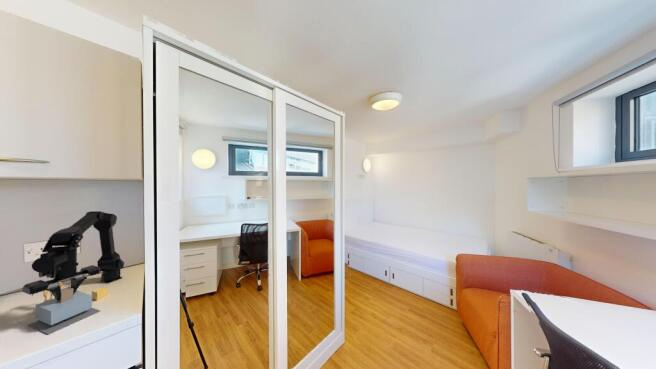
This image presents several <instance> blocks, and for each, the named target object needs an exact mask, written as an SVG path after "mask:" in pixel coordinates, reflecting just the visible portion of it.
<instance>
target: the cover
mask: <svg viewBox="0 0 656 369" xmlns="http://www.w3.org/2000/svg"><path fill="white" fill-rule="evenodd" d="M47 300H48V301H45V302H44V301H43V302H40V303H38V304H35V308H34V309H35V312H34V315H35V316H34V319H36V321H38V320H40V321H42V322H44V323H47V324H49V325H53V324H55V323H58V322H60V321H62V320H65V319H67V318H69V317H72V316H74V315H76V314H79V313H81V312H83V311H86V310H88V309H90V308H93V299H92V294H89V293H85V292H82V291H79V290H76V292H75V293H74V295H73V288H71V287H70V286H68V287H67V286H66V287H64V288H61V298H60V301H57V300H56V299H55V297H54V298H52V299H51V300H49V299H47Z"/></svg>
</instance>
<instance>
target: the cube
mask: <svg viewBox="0 0 656 369" xmlns="http://www.w3.org/2000/svg"><path fill="white" fill-rule="evenodd" d="M91 295H92V301H96V302H98V301H100V300H103V299H105V298H107V297H109V288H108V287H107V286H106V287H105V286H102V287H99V288H97V289H93V290H92V291H91Z"/></svg>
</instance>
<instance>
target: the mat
mask: <svg viewBox="0 0 656 369" xmlns="http://www.w3.org/2000/svg"><path fill="white" fill-rule="evenodd" d="M99 312H101V310H99V309H97V308H95V307H92V308H90V309H88V310H86V311H83V312H81V313H79V314H76V315H74V316H72V317H69V318H67V319H65V320H62V321H60V322H58V323H55V324H53V325H49V324H47V323H44V322H42V321H40V320H35V321H33V322H31V323H29V324H28V323H27V326H28V327H30V328H32V329H33V330H37V331H38V332H41V333H43V334H45V335H47V336H48V335H50V334H53V333H55V332H57V331H60V330H62V329H64V328H66V327H68V326H70V325H73V324H75V323H77V322H80V321H82V320H84V319H87V318H88V317H90V316H93V315H96V313H99Z"/></svg>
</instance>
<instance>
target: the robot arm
mask: <svg viewBox="0 0 656 369" xmlns="http://www.w3.org/2000/svg"><path fill="white" fill-rule="evenodd" d="M117 221H118V218H117V215H116V214H114V213H108V212H104V211H97V210H96V211H95V210H94V211H87V212H86V213H85V215H84V216H82V217H81V218H79V220H77V221H76V222H74V223H73V224H71V225H70V226H68V227H65V228H62V229H59V230H57V231H55V232H53V233H52V234H51V235H50V236H49V238H48V240H47V242H46V243H45V245H44V247H43V248H42V250H41V252H42V253H41V254H40V255H39V257H38V258H37V259H35V260H34V261H33V262H32V264H31V269H32V270H33V271H34V272H36V273H38V277H39V278H43V277H46V279H50V280H46V281H45V280H42V279H41V280H40V279H39V280H36V281H31V282H28V283H26V284H24V285H23V286H22V293H24V294H27V295H29V296H30V295H31V296H32V294H33V295H34V294H39V293H41V292H44V291H45V290H47V291H48V292H49V291H50V292H51V293H52V294H53V295H52V297H54V298H55V299H56V300H57V301H60V298H61V289H62V286H61V285H59V284H60V283H59V282H61V283H62V282H65V281H68V280H70V286H69V287H71V288H73V295H74V293H75V292H76V291H78V289H79V288H80V286H81V285H82V284H83V283H84V281H85V280H87V279H88V277H87V276H86V275H88V276H94V275H98V274H101V277H100V278H101V279H100V282H101V283H105V284H109V283H113V282H115V281H118V280H120V279H123V276H121V270H122V269H124V266H125V261H124V260H122V258H121V256H120V253H117V252H116V250H115V240H114V232H113V228H114V226H115V225H116V224H117ZM92 226H93V228H94V229H95V230H97V232H98V234H99V242H100V250H101V256H100V258H98V260H97V266H96V265H94V264H92V265H88V266H85V267H81V268H80V270H79V271H77V270H78V267H77V266H79V262H78V248H80V247H81V245H80V243H81V241H82V240H83V238H84V233H85V232H86V231H88V230H89V228H91V227H92ZM101 272H102V273H101ZM50 292H49V293H50ZM51 293H50V294H51Z"/></svg>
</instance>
